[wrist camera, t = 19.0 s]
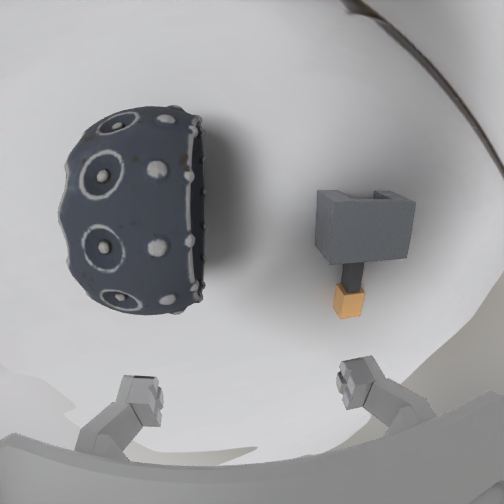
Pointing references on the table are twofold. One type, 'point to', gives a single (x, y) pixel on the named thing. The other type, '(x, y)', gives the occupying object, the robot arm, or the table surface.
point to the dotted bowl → (138, 211)
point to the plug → (349, 291)
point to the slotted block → (363, 227)
